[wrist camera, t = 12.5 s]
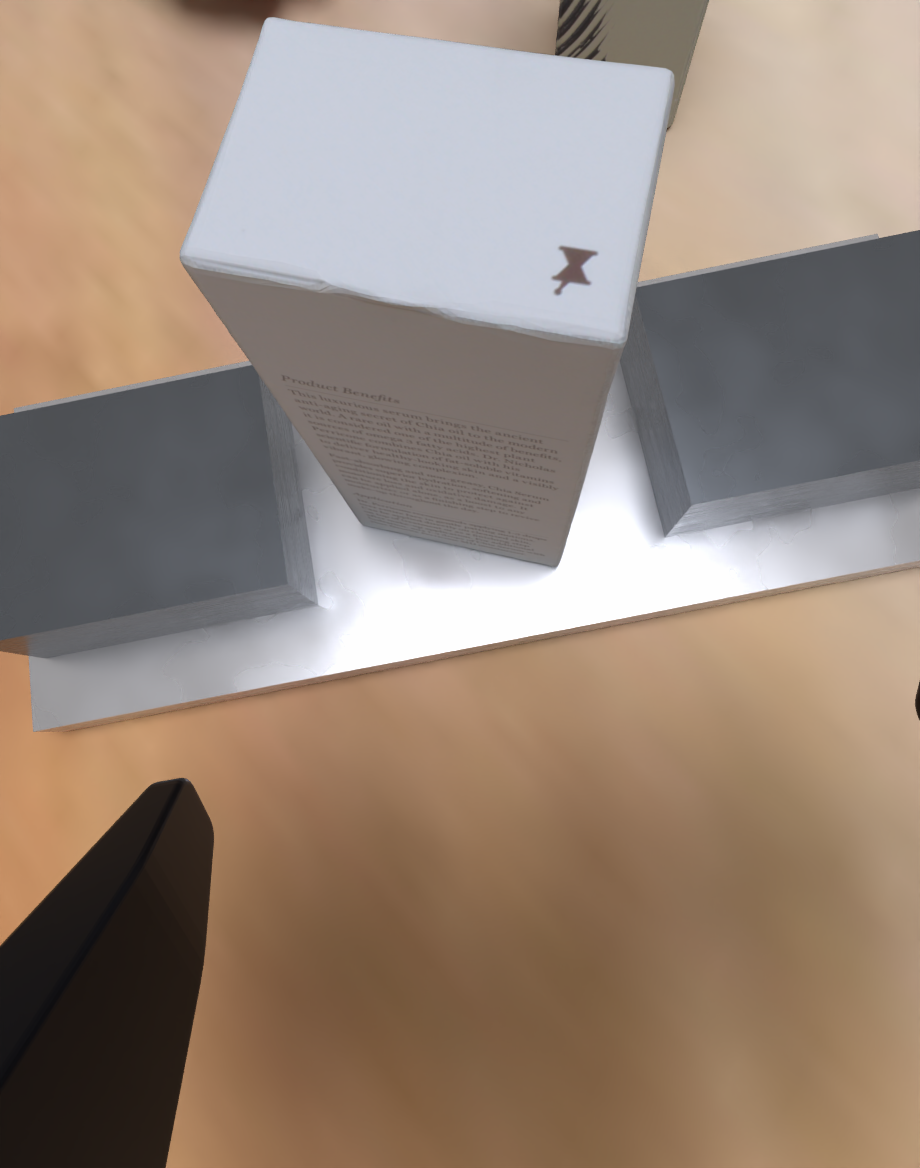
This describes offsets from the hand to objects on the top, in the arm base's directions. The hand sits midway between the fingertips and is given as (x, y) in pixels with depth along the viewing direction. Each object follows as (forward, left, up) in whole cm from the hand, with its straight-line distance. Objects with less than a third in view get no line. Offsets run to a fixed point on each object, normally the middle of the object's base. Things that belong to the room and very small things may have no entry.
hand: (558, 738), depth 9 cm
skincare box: (+7, +3, -11) cm, 13 cm away
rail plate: (+7, +3, -12) cm, 15 cm away
